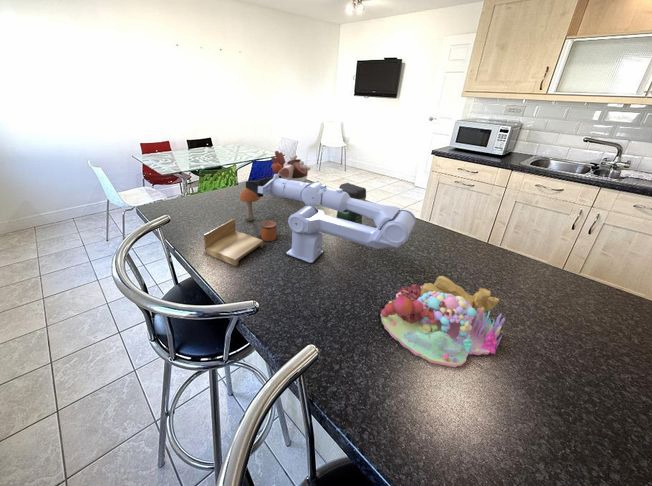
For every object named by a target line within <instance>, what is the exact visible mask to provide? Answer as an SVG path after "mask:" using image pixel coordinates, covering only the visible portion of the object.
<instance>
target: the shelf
mask: <svg viewBox="0 0 652 486" xmlns="http://www.w3.org/2000/svg"><path fill="white" fill-rule="evenodd" d="M203 240H204V250H205V254H206V255H208V256H211V257H213V258H216V259H218V260H219V261H220V260H221V261H223V262H224V263H227V264H230V265H231V266H234V267H237V266H238V265H239V261H240V260H241V259H243V258H244V257H246V256H247V255H248V254H250V253H251V252H253V251H254V250H255V249H257V248H264V240H262V238H258V237H256V236H253V235H250V234H246V233H243V232H241V231H239V230H236V218H232V219H230V220H228V221H227V222H225V223H223V224H221V225H219V226H217V227H215V228H213V229H212V230H209V231H208V232H206V233H204V234H203Z"/></svg>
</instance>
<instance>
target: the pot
mask: <svg viewBox="0 0 652 486" xmlns="http://www.w3.org/2000/svg"><path fill="white" fill-rule="evenodd" d="M277 226H278V224H277V221H275V220H271V219H269V220H268V219H266V220H263V221H261V223H260V239H261V240H263V242H264V241H265V242H272V241H275V240H276V239H277Z"/></svg>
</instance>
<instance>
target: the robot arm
mask: <svg viewBox="0 0 652 486" xmlns="http://www.w3.org/2000/svg"><path fill="white" fill-rule="evenodd" d="M245 187H246V188H247V189H249V190H251V191H253V192H254V193H255V194H256V195H257V196H258V197H260V198H262V197H264V194H266V195H268V196H272V197H279V198H284V199H290V200H295V201H300V202H303V203H304V204H305V205H304V206H303V207H302V208H300V209H298V211H296V212H295V213H292V214H290V215H289V217H288V220H287V221H288V222H287V223H288V227H289V229H290V230H291V248H290V249H289V250H288V251H286V252H285V254H286V255H288V256H290V257H294V258H295V259H299V260H301V261H304V262H307V263H310V264H312V263H314V261H316V259H318V258H319V256H321V254H323V240H324V239H323V238H324V236H323V234H326V235H329V236H332V237H336V238H338V239H342V240H346V241H349V242H353V243H355V244H359V245H363V246H366V247H369V248H373V249H376V250H381V249H385V248H386V249H387V248H395V249H397V248H399V247H400V246H402V245H403V244H405V243H406V242H407V241H408V239H409V237H410V235H411V233H412V231H413V230H414V228H415V227H416V225H417V219H416V215H414V213H413V212H412V211H411V210H408V209H405V208H404V209H403V208H400V207H399V206H394V205H386V204H380V203H377V202H371V201H367V200H365V201H363V200H358V199H354V198H350V196H349V195H348V193H347V192H343V189H340V188H339V187H338V188H337V189H335V188H332V187H329V186H327V185H326V184H323V183H321V182H320V181H318V180H317V181H313V182H312V183H310V182H300V181H294V180H287V179H281V175H279V174H275V173H274V174H273V176H272V177H262V178H259V179H258V180H248V181H247V180H246V181H245ZM316 206H320V207H324V208H326V209H330V210H333V211H336V212H337V211H339V212H342V211H344V210H346V209H347V210H350V211H352V212H355V213H358V214H361V215H362V217H366V218H369V219H370V220H371V219H372V220H373V222H374V224H375V226H376V227H374V226H369V225H367V224H366V225H365V224H363V223H362V224H358V223H355V222H351V221H347V220H343V219H339V218H336V217H337V216H336V217H335V216H331V215H328V214H326V213H325V212H324V210H322V209H319V208H318V207H316Z"/></svg>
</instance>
